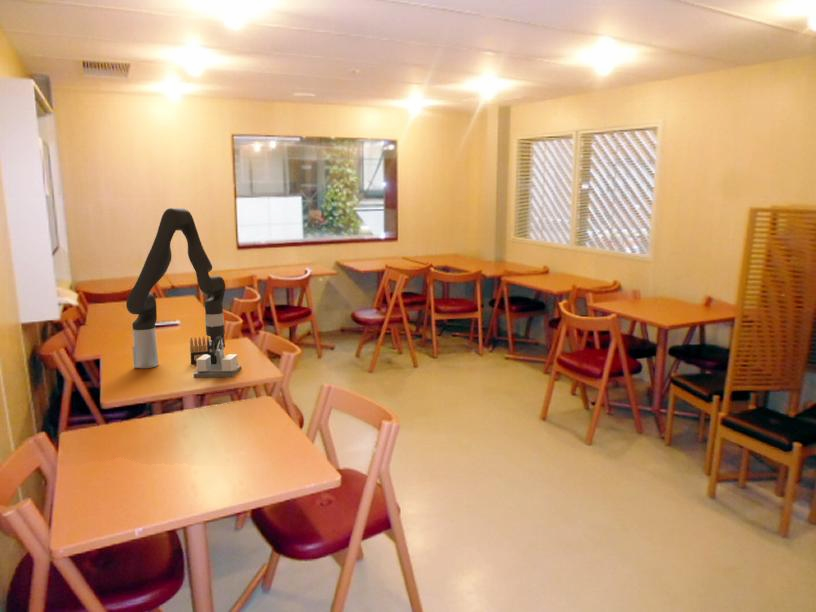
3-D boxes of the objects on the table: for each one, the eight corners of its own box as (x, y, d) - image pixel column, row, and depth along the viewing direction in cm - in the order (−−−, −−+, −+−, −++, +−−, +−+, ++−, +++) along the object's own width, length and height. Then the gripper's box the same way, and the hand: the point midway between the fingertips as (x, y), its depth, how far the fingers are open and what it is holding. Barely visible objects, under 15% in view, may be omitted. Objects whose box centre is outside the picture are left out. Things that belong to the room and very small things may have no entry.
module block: (211, 369, 253) (210, 351, 252) (215, 366, 258) (214, 348, 257) (220, 369, 253) (219, 351, 252) (224, 366, 258) (223, 348, 257)
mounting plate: (193, 377, 250) (193, 372, 249) (205, 369, 263) (204, 364, 262) (232, 377, 249) (231, 372, 249) (241, 368, 262) (241, 364, 262)
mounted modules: (197, 371, 251) (196, 359, 251) (204, 365, 260) (204, 354, 259) (231, 371, 251) (230, 359, 250) (238, 365, 260) (237, 354, 259)
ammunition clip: (190, 364, 272) (188, 338, 270) (190, 363, 273) (189, 337, 271) (215, 361, 275) (214, 336, 273) (215, 360, 277) (213, 335, 275)
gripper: (212, 320, 260) (214, 357, 262) (199, 327, 246) (202, 366, 248) (229, 320, 259) (231, 357, 262) (218, 327, 245) (220, 365, 248)
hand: (217, 361), depth 255 cm, fingers open, 8 cm apart
